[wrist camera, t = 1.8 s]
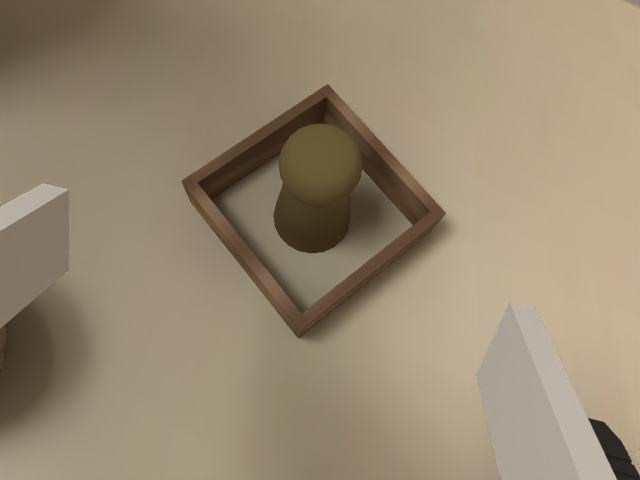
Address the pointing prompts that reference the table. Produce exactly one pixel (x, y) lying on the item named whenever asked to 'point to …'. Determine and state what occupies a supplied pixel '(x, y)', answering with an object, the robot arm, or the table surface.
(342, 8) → the table surface
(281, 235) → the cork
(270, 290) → the walnut box
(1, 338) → the decorative egg
